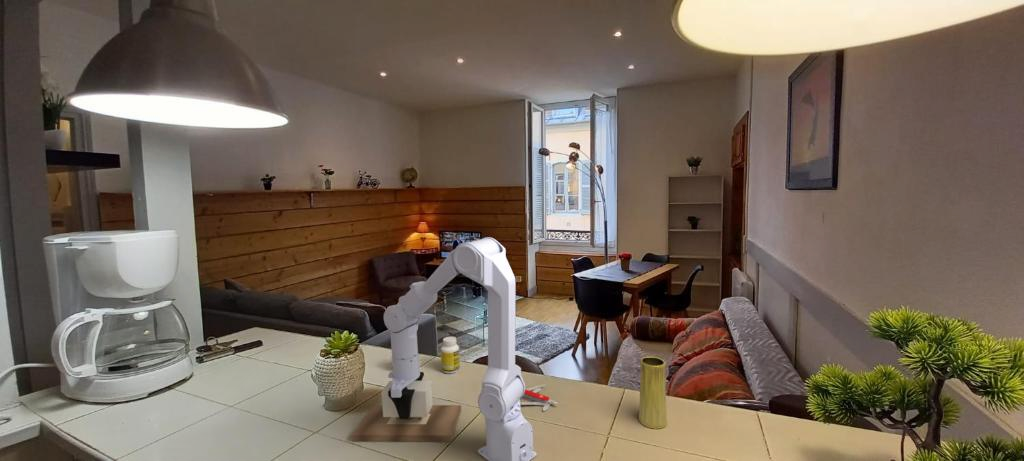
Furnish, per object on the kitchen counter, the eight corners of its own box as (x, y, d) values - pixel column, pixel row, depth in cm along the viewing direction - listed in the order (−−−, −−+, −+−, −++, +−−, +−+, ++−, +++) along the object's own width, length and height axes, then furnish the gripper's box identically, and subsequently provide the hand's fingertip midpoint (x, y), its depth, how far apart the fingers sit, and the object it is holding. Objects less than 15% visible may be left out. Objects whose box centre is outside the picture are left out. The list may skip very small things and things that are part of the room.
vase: (649, 431, 86) (649, 368, 85) (633, 416, 92) (633, 357, 91) (673, 426, 88) (673, 364, 87) (656, 411, 94) (656, 353, 92)
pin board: (461, 410, 97) (460, 393, 97) (451, 441, 85) (450, 422, 85) (373, 411, 98) (372, 393, 98) (351, 441, 86) (349, 422, 86)
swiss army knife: (569, 397, 102) (569, 389, 102) (541, 422, 91) (541, 414, 91) (533, 385, 109) (532, 378, 109) (502, 407, 98) (502, 399, 98)
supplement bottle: (456, 374, 116) (454, 342, 115) (439, 373, 118) (437, 341, 117) (462, 366, 122) (460, 335, 121) (445, 365, 123) (444, 335, 122)
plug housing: (432, 404, 94) (431, 380, 93) (426, 416, 89) (425, 391, 88) (391, 405, 94) (389, 381, 94) (383, 417, 89) (381, 391, 89)
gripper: (398, 342, 97) (402, 395, 99) (375, 369, 83) (379, 430, 84) (426, 342, 97) (429, 395, 98) (408, 368, 83) (412, 430, 84)
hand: (408, 411), depth 91 cm, fingers closed on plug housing, 5 cm apart
